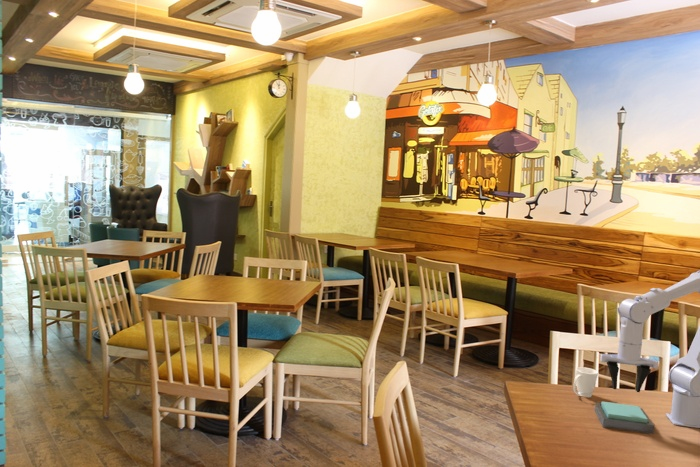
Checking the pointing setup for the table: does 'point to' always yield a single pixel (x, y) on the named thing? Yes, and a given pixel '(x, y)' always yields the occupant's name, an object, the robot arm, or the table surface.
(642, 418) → the plate
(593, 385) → the cup
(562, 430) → the table surface
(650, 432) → the plate housing
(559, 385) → the table surface
